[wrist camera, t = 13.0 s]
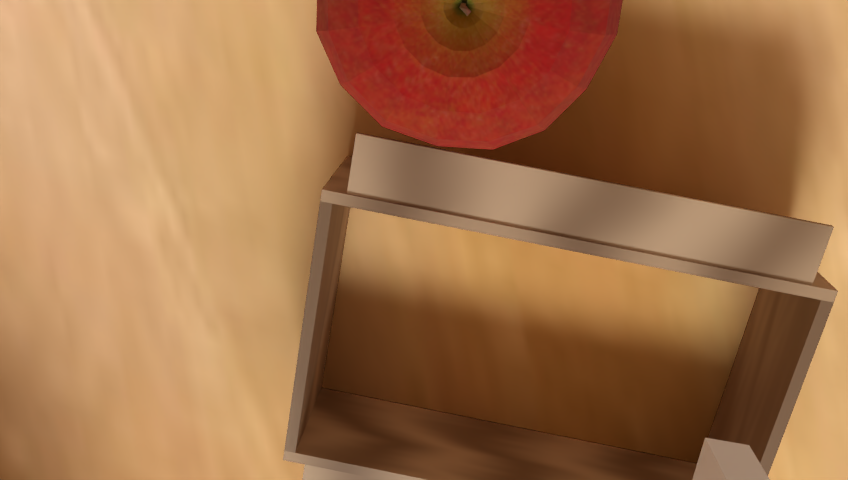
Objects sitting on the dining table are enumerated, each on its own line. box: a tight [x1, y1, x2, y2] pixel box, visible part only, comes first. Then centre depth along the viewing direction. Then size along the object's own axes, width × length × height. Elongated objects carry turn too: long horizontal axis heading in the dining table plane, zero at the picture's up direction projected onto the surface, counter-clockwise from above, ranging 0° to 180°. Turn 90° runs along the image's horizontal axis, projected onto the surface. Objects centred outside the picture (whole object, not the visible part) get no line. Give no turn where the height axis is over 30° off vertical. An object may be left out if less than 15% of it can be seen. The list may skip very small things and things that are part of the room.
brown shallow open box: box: [283, 133, 838, 480], centre depth 38 cm, size 21×18×6 cm
